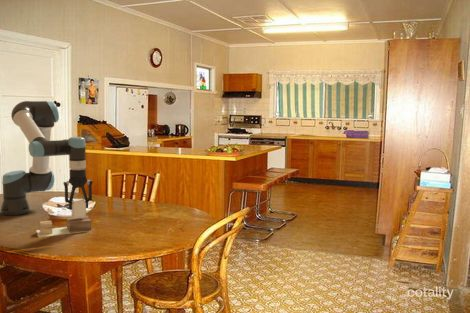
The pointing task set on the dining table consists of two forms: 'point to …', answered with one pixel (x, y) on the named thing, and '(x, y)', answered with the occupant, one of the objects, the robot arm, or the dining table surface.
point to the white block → (79, 207)
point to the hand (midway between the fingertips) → (78, 215)
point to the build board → (57, 232)
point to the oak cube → (46, 227)
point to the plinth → (78, 224)
